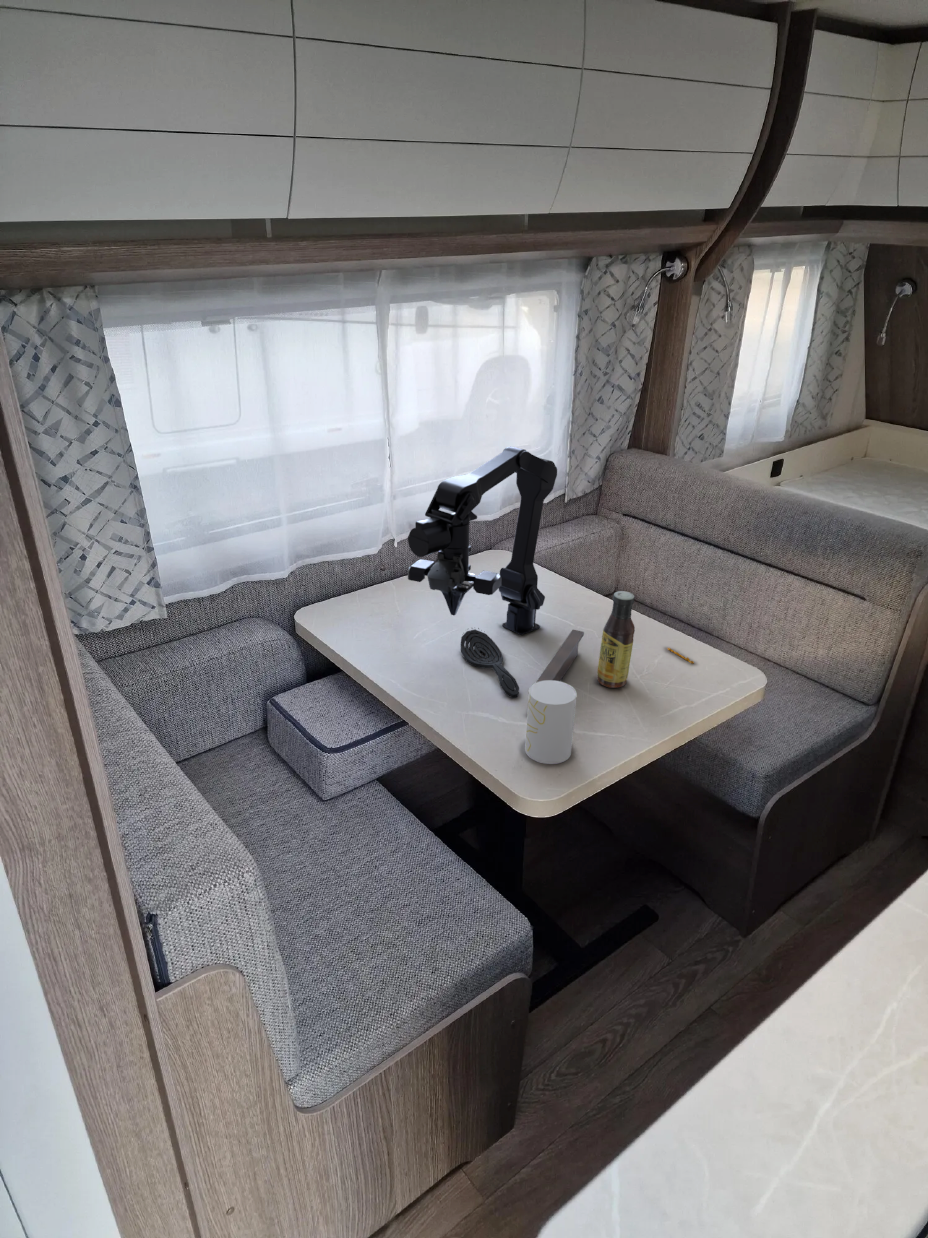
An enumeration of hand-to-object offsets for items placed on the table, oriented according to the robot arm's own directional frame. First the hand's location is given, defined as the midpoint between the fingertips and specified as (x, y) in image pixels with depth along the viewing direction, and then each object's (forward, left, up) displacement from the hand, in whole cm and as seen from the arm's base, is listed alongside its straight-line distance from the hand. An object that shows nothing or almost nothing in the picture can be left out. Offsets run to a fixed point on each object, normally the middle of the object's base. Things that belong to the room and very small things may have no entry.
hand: (453, 614), depth 170 cm
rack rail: (-9, +21, -11) cm, 25 cm away
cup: (+9, +36, -11) cm, 39 cm away
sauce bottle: (-19, +28, -11) cm, 36 cm away
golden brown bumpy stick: (-39, +30, -11) cm, 51 cm away
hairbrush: (-4, +8, -11) cm, 14 cm away
